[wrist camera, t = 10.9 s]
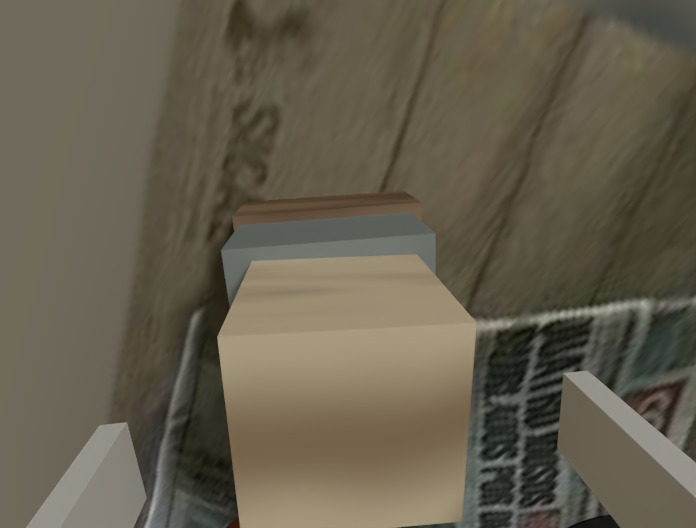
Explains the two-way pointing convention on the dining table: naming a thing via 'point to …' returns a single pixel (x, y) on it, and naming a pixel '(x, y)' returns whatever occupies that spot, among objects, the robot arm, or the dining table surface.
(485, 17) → the dining table surface
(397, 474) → the maple cube
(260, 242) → the tower top
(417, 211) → the tower base
